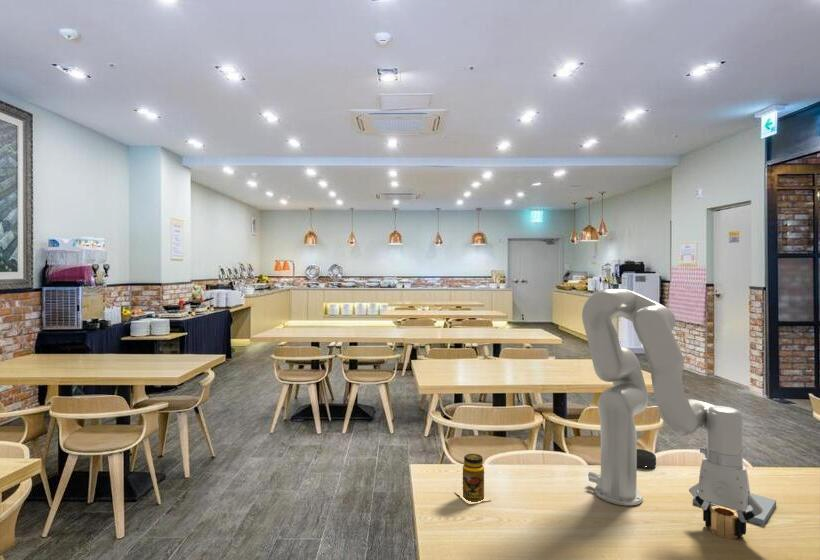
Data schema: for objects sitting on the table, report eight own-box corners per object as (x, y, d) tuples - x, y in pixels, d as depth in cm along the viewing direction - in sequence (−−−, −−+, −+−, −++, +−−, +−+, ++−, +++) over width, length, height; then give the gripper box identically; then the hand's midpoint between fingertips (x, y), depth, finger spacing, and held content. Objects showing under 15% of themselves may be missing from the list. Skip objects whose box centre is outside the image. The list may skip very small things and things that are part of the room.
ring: (706, 531, 114) (706, 511, 114) (713, 523, 118) (713, 503, 118) (735, 541, 110) (735, 520, 110) (741, 532, 114) (741, 512, 114)
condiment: (468, 506, 127) (468, 462, 127) (454, 493, 135) (454, 452, 135) (491, 501, 130) (491, 458, 130) (475, 488, 138) (475, 448, 138)
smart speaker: (623, 465, 157) (623, 453, 157) (630, 457, 164) (631, 446, 164) (652, 472, 151) (652, 459, 151) (658, 464, 158) (658, 452, 158)
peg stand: (692, 503, 129) (692, 476, 129) (709, 486, 140) (709, 462, 140) (763, 525, 117) (763, 496, 117) (776, 505, 128) (776, 478, 128)
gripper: (680, 451, 118) (680, 522, 118) (764, 472, 105) (764, 551, 105) (690, 445, 123) (689, 512, 123) (770, 463, 110) (770, 539, 110)
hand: (724, 529), depth 114 cm, fingers closed on ring, 6 cm apart
